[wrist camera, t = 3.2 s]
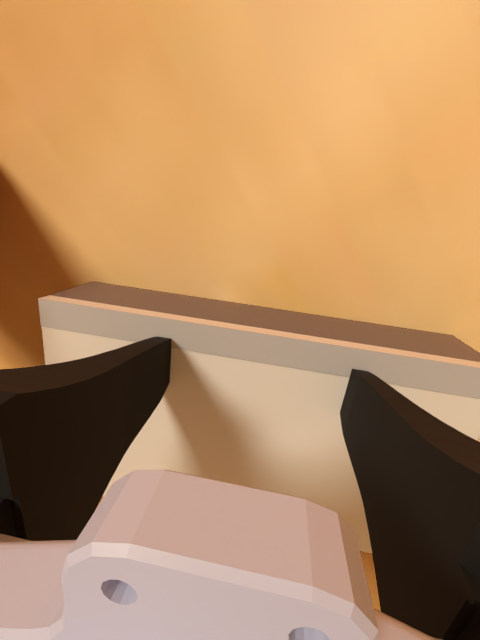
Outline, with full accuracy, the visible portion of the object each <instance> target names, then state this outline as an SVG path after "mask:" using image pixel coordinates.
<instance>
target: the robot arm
mask: <svg viewBox="0 0 480 640" xmlns="http://www.w3.org/2000/svg"><path fill="white" fill-rule="evenodd" d="M170 365H171V339H170V338H164V337H158V336H156V337H151V338H148V339H144V340H141V341H138V342H135V343H132V344H130V345H127V346H124V347H121V348H118V349H114V350H111V351H108V352H104V353H101V354H97V355H94V356H90V357H86V358H82V359H77V360H72V361H68V362H62V363H56V364H49V365H42V366H35V367H27V368H16V369H2V370H0V640H480V442H479V441H477V440H475V439H473V438H471V437H469V436H467V435H465V434H463V433H462V432H460V431H458V430H456V429H455V428H453V427H451V426H449V425H448V424H446V423H444V422H442V421H441V420H439V419H438V418H436V417H434V416H433V415H431V414H430V413H428V412H427V411H425V410H424V409H422V408H421V407H419V406H418V405H416V404H415V403H413V402H412V401H410V400H409V399H408V398H406V397H405V396H403V395H402V394H401V393H399V392H398V391H397V390H395V389H394V388H392V387H391V386H390V385H388V384H387V383H386V382H384V381H383V380H381V379H380V378H379V377H377V376H376V375H374V374H372V373H371V372H369V371H364V370H358V369H352V371H351V374H350V378H349V381H348V385H347V388H346V392H345V395H344V399H343V403H342V406H341V410H340V418H341V426H342V432H343V437H344V440H345V444H346V447H347V451H348V454H349V457H350V460H351V464H352V467H353V470H354V473H355V477H356V480H357V483H358V487H359V490H360V494H361V497H362V501H363V506H364V511H365V516H366V521H367V526H368V531H369V537H370V543H371V549H372V555H373V561H374V566H375V573H376V580H377V587H378V594H379V600H380V607H381V612H380V611H378V610H376V609H374V608H373V604H372V600H371V596H370V592H369V587H368V583H367V579H366V575H365V570H364V566H363V562H362V558H361V553H360V549H359V545H358V541H357V537H356V534H355V533H354V532H353V531H352V530H351V528H350V527H349V526H348V525H347V524H346V522H345V521H344V520H343V519H342V518H341V517H340V515H339V514H338V513H337V512H335V511H333V510H330V509H328V508H326V507H323V506H321V505H319V504H316V503H314V502H311V501H309V500H307V499H304V498H300V497H295V496H291V495H286V494H281V493H276V492H271V491H266V490H262V489H257V488H252V487H247V486H242V485H238V484H233V483H228V482H223V481H218V480H213V479H209V478H204V477H199V476H194V475H189V474H185V473H180V472H175V471H170V470H134V471H132V472H130V473H129V474H127V475H125V476H124V477H122V478H120V479H119V480H117V481H115V482H113V484H112V485H111V487H110V488H109V490H108V492H107V493H106V495H105V496H104V498H103V499H102V501H101V502H100V500H101V498H102V496H103V494H104V492H105V490H106V488H107V486H108V484H109V482H110V480H111V478H112V477H113V475H114V473H115V471H116V469H117V467H118V466H119V464H120V462H121V460H122V458H123V456H124V455H125V453H126V451H127V450H128V448H129V447H130V445H131V443H132V442H133V441H134V439H135V438H136V436H137V435H138V433H139V432H140V431H141V429H142V428H143V426H144V425H145V423H146V422H147V420H148V419H149V418H150V416H151V415H152V413H153V412H154V410H155V409H156V407H157V406H158V404H159V403H160V401H161V399H162V397H163V395H164V393H165V391H166V389H167V387H168V385H169V383H170ZM99 502H100V504H99ZM98 504H99V506H98ZM97 506H98V507H97ZM96 508H97V509H96Z"/></svg>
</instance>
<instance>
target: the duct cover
mask: <svg viewBox="0 0 480 640" xmlns="http://www.w3.org/2000/svg"><path fill="white" fill-rule="evenodd" d="M38 304H39V314H40V324H41V326H42V337H43V347H44V357H45V365H49V364H56V363H62V362H68V361H72V360H77V359H82V358H86V357H90V356H94V355H97V354H101V353H104V352H108V351H111V350H114V349H118V348H121V347H124V346H127V345H130V344H132V343H135V342H138V341H141V340H144V339H148V338H151V337H156V336H158V337H164V338H170V339H171V365H170V383H169V385H168V387H167V389H166V391H165V393H164V395H163V397H162V399H161V401H160V403H159V404H158V406H157V407H156V409H155V410H154V412H153V413H152V415H151V416H150V418H149V419H148V420H147V422H146V423H145V425H144V426H143V428H142V429H141V431H140V432H139V433H138V435H137V436H136V438H135V439H134V441H133V442H132V443H131V445H130V447H129V448H128V450H127V451H126V453H125V455H124V456H123V458H122V460H121V462H120V464H119V466H118V467H117V469H116V471H115V473H114V475H113V477H112V478H111V480H110V482H109V484H108V486H107V488H106V490H105V492H104V494H103V497H104V496H105V495H106V493H107V492H108V490H109V488H110V487H111V485H112V484H113V482H115V481H117V480H119V479H120V478H122V477H124V476H125V475H127V474H129V473H130V472H132V471H134V470H170V471H175V472H180V473H185V474H189V475H194V476H199V477H204V478H209V479H213V480H218V481H223V482H228V483H233V484H238V485H242V486H247V487H252V488H257V489H262V490H266V491H271V492H276V493H281V494H286V495H291V496H295V497H300V498H304V499H307V500H309V501H311V502H314V503H316V504H319V505H321V506H323V507H326V508H328V509H330V510H333V511H335V512H337V513H338V514H339V515H340V517H341V518H342V519H343V520H344V521H345V522H346V524H347V525H348V526H349V527H350V528H351V530H352V531H353V532H354V533H355V534H356V537H357V541H358V545H359V549H360V551H362V552H366V553H371V554H372V549H371V543H370V537H369V531H368V526H367V521H366V516H365V511H364V506H363V501H362V497H361V494H360V490H359V487H358V483H357V480H356V477H355V473H354V470H353V467H352V464H351V460H350V457H349V454H348V451H347V447H346V444H345V440H344V437H343V432H342V426H341V418H340V410H341V406H342V403H343V399H344V395H345V392H346V388H347V385H348V381H349V378H350V374H351V371H352V369H358V370H364V371H369V372H371V373H372V374H374V375H376V376H377V377H379V378H380V379H381V380H383V381H384V382H386V383H387V384H388V385H390V386H391V387H392V388H394V389H395V390H397V391H398V392H399V393H401V394H402V395H403V396H405V397H406V398H408V399H409V400H410V401H412V402H413V403H415V404H416V405H418V406H419V407H421V408H422V409H424V410H425V411H427V412H428V413H430V414H431V415H433V416H434V417H436V418H438V419H439V420H441V421H442V422H444V423H446V424H448V425H449V426H451V427H453V428H455V429H456V430H458V431H460V432H462V433H463V434H465V435H467V436H469V437H471V438H473V439H475V440H477V441H478V439H479V437H480V362H476V361H469V360H463V359H456V358H450V357H444V356H437V355H431V354H424V353H418V352H411V351H405V350H399V349H392V348H386V347H379V346H373V345H366V344H360V343H354V342H347V341H341V340H334V339H328V338H322V337H315V336H309V335H302V334H296V333H289V332H283V331H277V330H270V329H264V328H257V327H251V326H244V325H238V324H232V323H225V322H219V321H212V320H206V319H200V318H193V317H187V316H180V315H174V314H167V313H161V312H155V311H148V310H142V309H135V308H129V307H122V306H116V305H110V304H103V303H97V302H90V301H84V300H77V299H71V298H65V297H58V296H52V295H48V296H45V297H41V298H38Z"/></svg>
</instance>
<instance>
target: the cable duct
mask: <svg viewBox="0 0 480 640" xmlns="http://www.w3.org/2000/svg"><path fill="white" fill-rule="evenodd" d="M51 295H52V296H58V297H65V298H71V299H77V300H84V301H90V302H97V303H103V304H110V305H116V306H122V307H129V308H135V309H142V310H148V311H155V312H161V313H167V314H174V315H180V316H187V317H193V318H200V319H206V320H212V321H219V322H225V323H232V324H238V325H244V326H251V327H257V328H264V329H270V330H277V331H283V332H289V333H296V334H302V335H309V336H315V337H322V338H328V339H334V340H341V341H347V342H354V343H360V344H366V345H373V346H379V347H386V348H392V349H399V350H405V351H411V352H418V353H424V354H431V355H437V356H444V357H450V358H456V359H463V360H469V361H476V362H480V353H479V352H477V351H476V350H474V349H473V348H471V347H470V346H468V345H467V344H465V343H464V342H462V341H460V340H459V339H457V338H456V337H454V336H453V335H446V334H440V333H433V332H426V331H420V330H413V329H406V328H400V327H393V326H386V325H380V324H373V323H366V322H360V321H353V320H346V319H340V318H333V317H326V316H319V315H313V314H306V313H299V312H293V311H286V310H279V309H273V308H266V307H259V306H253V305H246V304H239V303H233V302H226V301H219V300H213V299H206V298H199V297H193V296H186V295H179V294H172V293H166V292H159V291H152V290H146V289H139V288H132V287H126V286H119V285H112V284H106V283H99V282H89V283H86V284H83V285H80V286H76V287H73V288H70V289H67V290H64V291H61V292H58V293H54V294H51Z"/></svg>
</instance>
